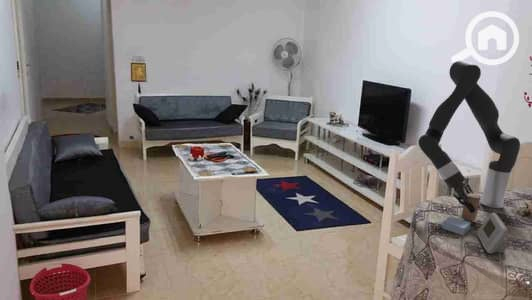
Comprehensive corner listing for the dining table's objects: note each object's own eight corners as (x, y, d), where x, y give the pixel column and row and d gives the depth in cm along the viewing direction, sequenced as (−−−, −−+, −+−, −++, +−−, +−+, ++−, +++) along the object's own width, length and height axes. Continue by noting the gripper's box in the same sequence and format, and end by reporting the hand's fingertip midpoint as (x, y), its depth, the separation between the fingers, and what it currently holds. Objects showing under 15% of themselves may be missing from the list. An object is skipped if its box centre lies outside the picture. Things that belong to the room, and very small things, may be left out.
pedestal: (449, 222, 177) (450, 215, 176) (469, 229, 172) (470, 222, 171) (442, 228, 171) (443, 221, 170) (463, 235, 166) (464, 228, 165)
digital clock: (476, 234, 168) (482, 209, 165) (502, 240, 165) (508, 214, 162) (477, 252, 154) (483, 225, 151) (505, 259, 151) (512, 231, 148)
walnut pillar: (464, 214, 183) (469, 192, 180) (475, 218, 180) (480, 195, 177) (461, 217, 179) (465, 195, 176) (472, 221, 176) (477, 198, 174)
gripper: (452, 174, 174) (478, 211, 170) (464, 167, 184) (488, 201, 180) (437, 182, 178) (462, 219, 174) (449, 175, 189) (472, 209, 185)
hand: (475, 210), depth 177 cm, fingers closed on walnut pillar, 4 cm apart
